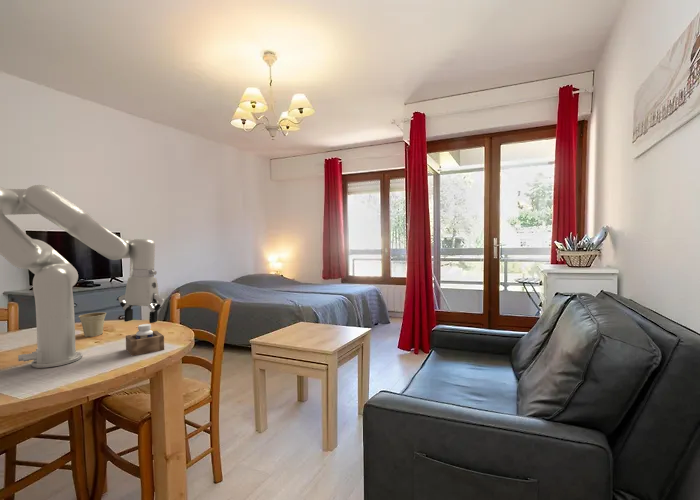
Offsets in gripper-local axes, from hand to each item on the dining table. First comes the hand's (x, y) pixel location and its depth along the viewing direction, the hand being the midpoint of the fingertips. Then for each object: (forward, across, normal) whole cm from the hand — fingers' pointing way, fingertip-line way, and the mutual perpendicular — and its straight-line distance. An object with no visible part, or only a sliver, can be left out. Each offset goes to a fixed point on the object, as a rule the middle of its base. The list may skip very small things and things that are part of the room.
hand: (140, 321), depth 126 cm
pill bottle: (+10, -1, -1) cm, 11 cm away
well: (+10, -1, -1) cm, 10 cm away
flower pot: (+11, +35, -17) cm, 40 cm away
